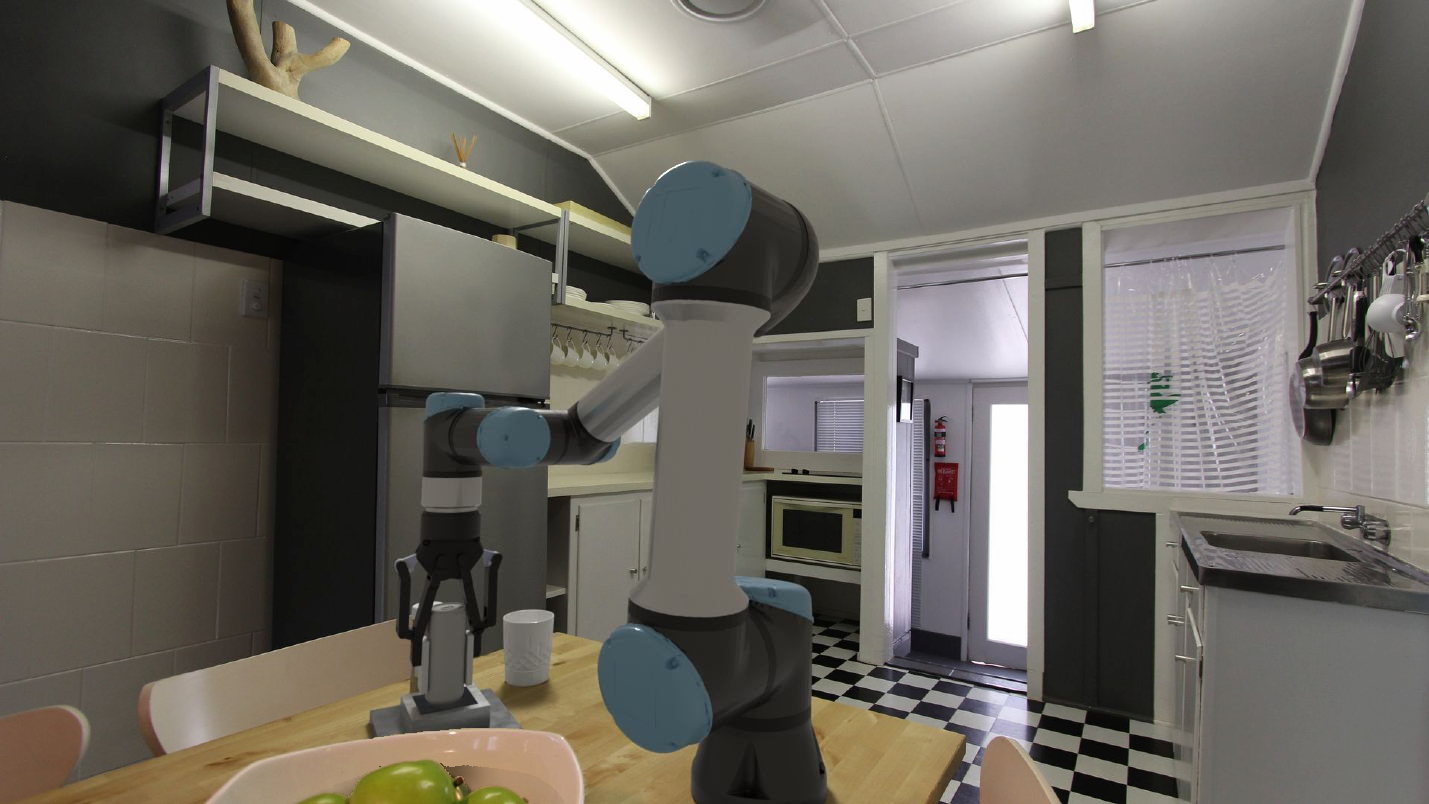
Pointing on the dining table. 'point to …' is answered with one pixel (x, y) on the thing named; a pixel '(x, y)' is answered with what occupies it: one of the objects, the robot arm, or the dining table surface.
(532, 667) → the white cup
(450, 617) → the beverage can
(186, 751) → the dining table surface
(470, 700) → the gray square base
